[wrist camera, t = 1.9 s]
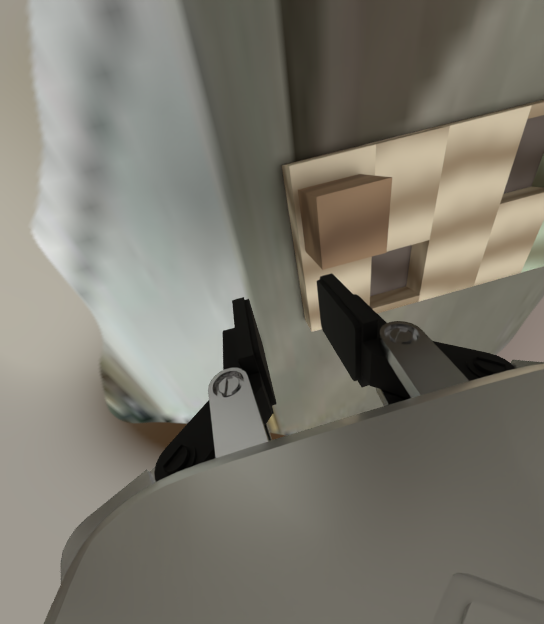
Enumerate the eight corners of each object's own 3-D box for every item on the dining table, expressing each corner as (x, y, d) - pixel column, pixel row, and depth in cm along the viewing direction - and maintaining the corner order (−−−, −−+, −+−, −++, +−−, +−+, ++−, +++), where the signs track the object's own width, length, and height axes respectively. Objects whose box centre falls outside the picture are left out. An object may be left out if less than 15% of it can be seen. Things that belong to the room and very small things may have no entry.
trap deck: (281, 165, 23) (296, 166, 19) (641, 75, 25) (735, 56, 20) (304, 319, 34) (318, 344, 29) (555, 248, 35) (604, 262, 31)
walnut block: (297, 189, 22) (316, 197, 18) (359, 173, 22) (392, 177, 18) (305, 251, 25) (322, 269, 21) (359, 237, 25) (386, 252, 21)
